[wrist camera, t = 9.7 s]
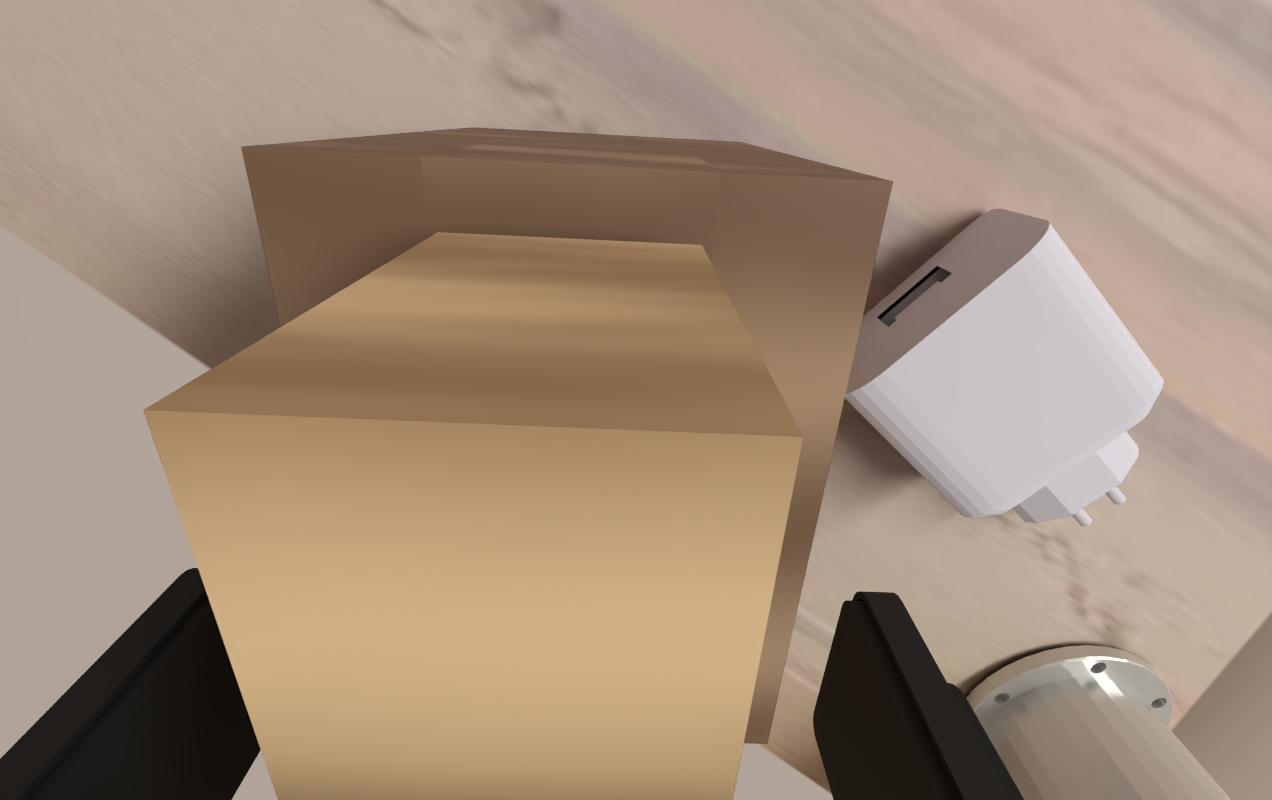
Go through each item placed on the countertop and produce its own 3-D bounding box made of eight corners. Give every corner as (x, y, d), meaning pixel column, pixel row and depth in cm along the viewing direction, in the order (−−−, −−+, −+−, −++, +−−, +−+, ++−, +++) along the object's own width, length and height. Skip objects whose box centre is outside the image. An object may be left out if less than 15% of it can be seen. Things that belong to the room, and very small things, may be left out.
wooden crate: (705, 452, 29) (767, 743, 16) (492, 443, 29) (368, 732, 15) (741, 142, 23) (893, 181, 10) (472, 127, 23) (241, 146, 9)
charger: (990, 536, 32) (812, 356, 27) (1155, 425, 29) (987, 204, 24) (1046, 601, 28) (845, 401, 23) (1246, 479, 25) (1062, 223, 20)
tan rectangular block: (650, 574, 18) (671, 1115, 8) (520, 569, 18) (385, 1111, 8) (678, 201, 14) (802, 437, 4) (503, 192, 14) (143, 409, 4)
